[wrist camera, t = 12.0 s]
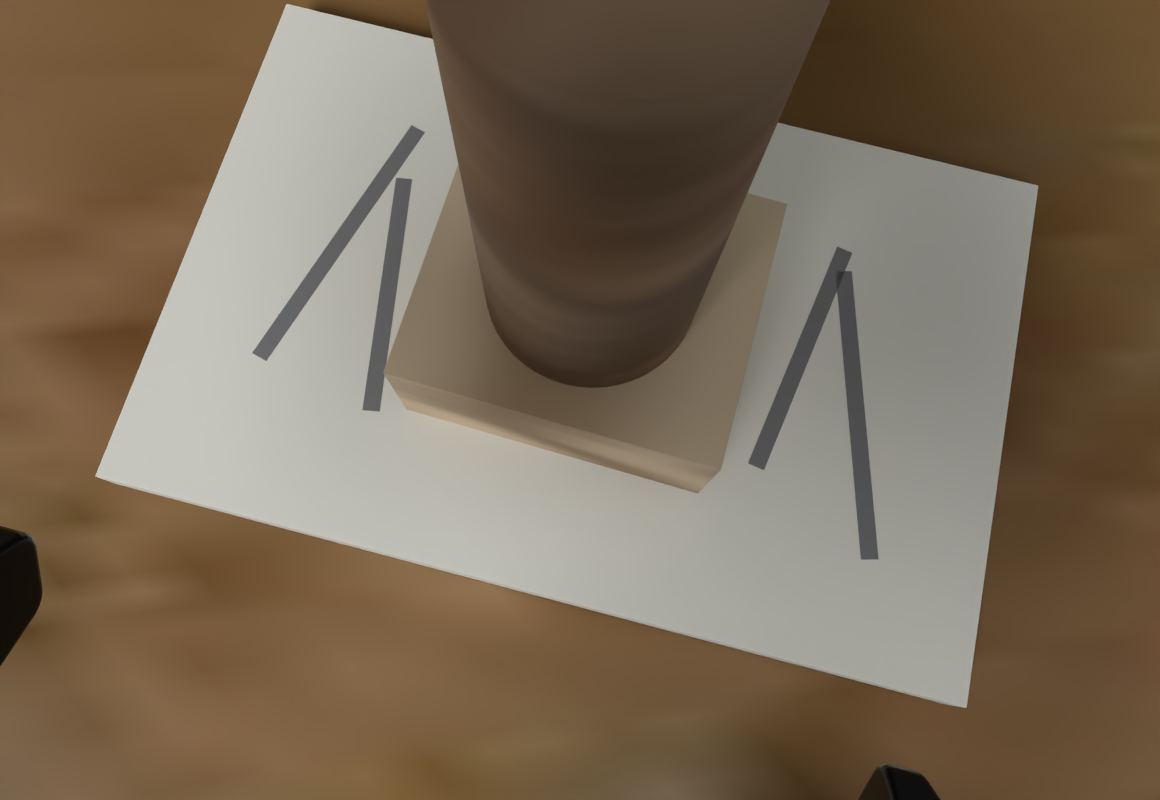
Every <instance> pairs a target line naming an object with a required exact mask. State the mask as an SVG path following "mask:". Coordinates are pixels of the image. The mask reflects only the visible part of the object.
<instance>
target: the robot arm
mask: <svg viewBox="0 0 1160 800" xmlns="http://www.w3.org/2000/svg"><path fill="white" fill-rule="evenodd" d="M41 598H42V583H41V576H40V570H39V563H38V556H37V549H36V544H35V541H34V540H33V538H32V537H31V536H30V535H29V534H27V533H24V532H21V531H17V530H13V529H10V528H6V527H2V526H0V666H1V665H2V663H3V662H4V660H5V659H6V657H7V656H8V654H9V653H10V651H11V650H12V648H13V647H14V645H15V644H16V642H17V641H18V639H19V638H20V636H21V635H22V633H23V632H24V630H25V629H26V627H27V626H28V624H29V623H30V621H31V620H32V618H33V617H34V615H35V614H36V612H37V610H38V608H39V605H40V602H41ZM858 800H940V798H939V797H938V795H937V794H936V792H935V791H934V789H933V788H932V786H931V785H930V783H929V782H928V781H927V779H926V778H925V777H924V776H923V775H922V774H920V773H918V772H916V771H913V770H909V769H905V768H902V767H898V766H894V765H890V764H882V765H880V766H878V767H877V768H876V770H875V771H874V772H873V774H872V776H871V778H870V779H869V781H868V783H867V785H866V786H865V788H864V790H863V792H862V793H861V795H860V797H859V799H858Z"/></svg>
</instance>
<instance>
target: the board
mask: <svg viewBox="0 0 1160 800" xmlns="http://www.w3.org/2000/svg"><path fill="white" fill-rule="evenodd" d="M457 166H458V160H457V155H456V150H455V145H454V140H453V136H452V131H451V126H450V121H449V116H448V111H447V106H446V101H445V96H444V91H443V86H442V81H441V77H440V72H439V67H438V62H437V57H436V52H435V47H434V42H433V39H430V38H426V37H422V36H418V35H413V34H409V33H405V32H401V31H397V30H393V29H389V28H384V27H380V26H376V25H372V24H368V23H364V22H360V21H355V20H351V19H347V18H343V17H339V16H335V15H331V14H327V13H322V12H318V11H314V10H310V9H306V8H302V7H298V6H293V5H289V4H286V7H285V9H284V12H283V14H282V17H281V19H280V22H279V24H278V27H277V29H276V32H275V34H274V36H273V39H272V41H271V44H270V46H269V49H268V51H267V54H266V56H265V59H264V61H263V64H262V66H261V69H260V71H259V73H258V76H257V78H256V81H255V83H254V86H253V88H252V91H251V93H250V96H249V98H248V101H247V103H246V106H245V108H244V110H243V113H242V115H241V118H240V120H239V123H238V125H237V128H236V130H235V133H234V135H233V138H232V140H231V143H230V145H229V147H228V150H227V152H226V155H225V157H224V160H223V162H222V165H221V167H220V170H219V172H218V175H217V177H216V180H215V182H214V185H213V187H212V189H211V192H210V194H209V197H208V199H207V202H206V204H205V207H204V209H203V212H202V214H201V217H200V219H199V222H198V224H197V226H196V229H195V231H194V234H193V236H192V239H191V241H190V244H189V246H188V249H187V251H186V254H185V256H184V259H183V261H182V263H181V266H180V268H179V271H178V273H177V276H176V278H175V281H174V283H173V286H172V288H171V291H170V293H169V296H168V298H167V300H166V303H165V305H164V308H163V310H162V313H161V315H160V318H159V320H158V323H157V325H156V328H155V330H154V333H153V335H152V338H151V340H150V342H149V345H148V347H147V350H146V352H145V355H144V357H143V360H142V362H141V365H140V367H139V370H138V372H137V375H136V377H135V379H134V382H133V384H132V387H131V389H130V392H129V394H128V397H127V399H126V402H125V404H124V407H123V409H122V412H121V414H120V416H119V419H118V421H117V424H116V426H115V429H114V431H113V434H112V436H111V439H110V441H109V444H108V446H107V449H106V451H105V453H104V456H103V458H102V461H101V463H100V466H99V468H98V471H97V473H96V476H95V477H98V478H101V479H104V480H107V481H109V482H112V483H115V484H118V485H122V486H126V487H130V488H133V489H137V490H141V491H145V492H149V493H152V494H156V495H160V496H164V497H167V498H171V499H175V500H179V501H182V502H186V503H190V504H194V505H197V506H201V507H205V508H209V509H212V510H216V511H220V512H224V513H228V514H231V515H235V516H239V517H243V518H246V519H250V520H254V521H258V522H261V523H265V524H269V525H273V526H276V527H280V528H284V529H288V530H291V531H295V532H299V533H303V534H307V535H310V536H314V537H318V538H322V539H325V540H329V541H333V542H337V543H340V544H344V545H348V546H352V547H355V548H359V549H363V550H367V551H370V552H374V553H378V554H382V555H386V556H389V557H393V558H397V559H401V560H404V561H408V562H412V563H416V564H419V565H423V566H427V567H431V568H434V569H438V570H442V571H446V572H449V573H453V574H457V575H461V576H465V577H468V578H472V579H476V580H480V581H483V582H487V583H491V584H495V585H498V586H502V587H506V588H510V589H513V590H517V591H521V592H525V593H528V594H532V595H536V596H540V597H544V598H547V599H551V600H555V601H559V602H562V603H566V604H570V605H574V606H577V607H581V608H585V609H589V610H592V611H596V612H600V613H604V614H607V615H611V616H615V617H619V618H622V619H626V620H630V621H634V622H638V623H641V624H645V625H649V626H653V627H656V628H660V629H664V630H668V631H671V632H675V633H679V634H683V635H686V636H690V637H694V638H698V639H701V640H705V641H709V642H713V643H717V644H720V645H724V646H728V647H732V648H735V649H739V650H743V651H747V652H750V653H754V654H758V655H762V656H765V657H769V658H773V659H777V660H780V661H784V662H788V663H792V664H796V665H799V666H803V667H807V668H811V669H814V670H818V671H822V672H826V673H829V674H833V675H837V676H841V677H844V678H848V679H852V680H856V681H859V682H863V683H867V684H871V685H875V686H878V687H882V688H886V689H890V690H893V691H897V692H901V693H905V694H908V695H912V696H916V697H920V698H923V699H927V700H931V701H935V702H938V703H942V704H946V705H951V706H957V707H964V708H967V701H968V693H969V686H970V679H971V672H972V664H973V657H974V650H975V642H976V635H977V628H978V621H979V613H980V606H981V599H982V592H983V584H984V577H985V570H986V563H987V555H988V548H989V541H990V533H991V526H992V519H993V512H994V504H995V497H996V490H997V483H998V475H999V468H1000V461H1001V454H1002V446H1003V439H1004V432H1005V424H1006V417H1007V410H1008V403H1009V395H1010V388H1011V381H1012V374H1013V366H1014V359H1015V352H1016V345H1017V337H1018V330H1019V323H1020V315H1021V308H1022V301H1023V294H1024V286H1025V279H1026V272H1027V265H1028V257H1029V250H1030V243H1031V236H1032V228H1033V221H1034V214H1035V206H1036V199H1037V192H1038V185H1034V184H1030V183H1026V182H1021V181H1017V180H1013V179H1009V178H1005V177H1001V176H997V175H992V174H988V173H984V172H980V171H976V170H972V169H968V168H963V167H959V166H955V165H951V164H947V163H943V162H939V161H935V160H930V159H926V158H922V157H918V156H914V155H910V154H906V153H901V152H897V151H893V150H889V149H885V148H881V147H877V146H872V145H868V144H864V143H860V142H856V141H852V140H848V139H844V138H839V137H835V136H831V135H827V134H823V133H819V132H815V131H810V130H806V129H802V128H798V127H794V126H790V125H786V124H781V123H777V126H776V128H775V130H774V133H773V135H772V137H771V140H770V142H769V144H768V147H767V149H766V151H765V154H764V156H763V158H762V160H761V163H760V165H759V167H758V170H757V172H756V174H755V177H754V179H753V181H752V184H751V186H750V188H749V191H748V193H749V194H753V195H756V196H760V197H764V198H767V199H771V200H775V201H778V202H782V203H786V204H787V207H786V211H785V215H784V219H783V223H782V227H781V231H780V235H779V239H778V243H777V247H776V251H775V255H774V259H773V263H772V267H771V271H770V275H769V279H768V283H767V287H766V291H765V295H764V299H763V303H762V307H761V311H760V315H759V319H758V324H757V328H756V332H755V336H754V340H753V344H752V348H751V352H750V356H749V360H748V364H747V368H746V372H745V376H744V380H743V384H742V388H741V392H740V396H739V400H738V404H737V408H736V412H735V416H734V420H733V424H732V428H731V432H730V436H729V440H728V444H727V448H726V452H725V456H724V460H723V464H722V468H721V470H720V471H719V472H718V473H717V474H716V475H715V476H714V477H713V478H712V479H711V480H710V481H709V482H708V483H707V485H706V486H705V487H704V488H703V489H702V490H701V491H700V492H699V493H694V492H691V491H687V490H684V489H680V488H677V487H674V486H670V485H667V484H663V483H660V482H656V481H653V480H649V479H646V478H642V477H639V476H635V475H632V474H628V473H625V472H621V471H618V470H614V469H611V468H608V467H604V466H601V465H597V464H594V463H590V462H587V461H583V460H580V459H576V458H573V457H569V456H566V455H562V454H559V453H555V452H552V451H548V450H545V449H541V448H538V447H535V446H531V445H528V444H524V443H521V442H517V441H514V440H510V439H507V438H503V437H500V436H496V435H493V434H489V433H486V432H482V431H479V430H475V429H472V428H469V427H465V426H462V425H458V424H455V423H451V422H448V421H444V420H441V419H437V418H434V417H430V416H427V415H423V414H420V413H416V412H413V411H409V410H407V409H406V408H405V406H404V405H403V403H402V401H401V400H400V398H399V397H398V395H397V394H396V392H395V391H394V389H393V387H392V386H391V384H390V383H389V381H388V380H387V378H386V377H385V375H384V373H383V372H384V369H385V366H386V363H387V361H388V358H389V355H390V352H391V349H392V347H393V344H394V341H395V338H396V336H397V333H398V330H399V327H400V324H401V322H402V319H403V316H404V313H405V311H406V308H407V305H408V302H409V300H410V297H411V294H412V291H413V288H414V286H415V283H416V280H417V277H418V275H419V272H420V269H421V266H422V263H423V261H424V258H425V255H426V252H427V250H428V247H429V244H430V241H431V239H432V236H433V233H434V230H435V227H436V225H437V222H438V219H439V216H440V214H441V211H442V208H443V205H444V203H445V200H446V197H447V194H448V191H449V189H450V186H451V183H452V180H453V178H454V175H455V172H456V169H457Z"/></svg>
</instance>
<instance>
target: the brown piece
mask: <svg viewBox="0 0 1160 800" xmlns="http://www.w3.org/2000/svg"><path fill="white" fill-rule="evenodd" d="M829 2H830V0H425V3H426V8H427V13H428V18H429V22H430V27H431V32H432V37H433V42H434V47H435V52H436V57H437V62H438V67H439V72H440V77H441V81H442V86H443V91H444V96H445V101H446V106H447V111H448V116H449V121H450V126H451V131H452V136H453V140H454V145H455V150H456V155H457V160H458V166H457V169H456V172H455V175H454V178H453V180H452V183H451V186H450V189H449V191H448V194H447V197H446V200H445V203H444V205H443V208H442V211H441V214H440V216H439V219H438V222H437V225H436V227H435V230H434V233H433V236H432V239H431V241H430V244H429V247H428V250H427V252H426V255H425V258H424V261H423V263H422V266H421V269H420V272H419V275H418V277H417V280H416V283H415V286H414V288H413V291H412V294H411V297H410V300H409V302H408V305H407V308H406V311H405V313H404V316H403V319H402V322H401V324H400V327H399V330H398V333H397V336H396V338H395V341H394V344H393V347H392V349H391V352H390V355H389V358H388V361H387V363H386V366H385V369H384V372H383V373H384V375H385V377H386V378H387V380H388V381H389V383H390V384H391V386H392V387H393V389H394V391H395V392H396V394H397V395H398V397H399V398H400V400H401V401H402V403H403V405H404V406H405V408H406V409H407V410H409V411H413V412H416V413H420V414H423V415H427V416H430V417H434V418H437V419H441V420H444V421H448V422H451V423H455V424H458V425H462V426H465V427H469V428H472V429H475V430H479V431H482V432H486V433H489V434H493V435H496V436H500V437H503V438H507V439H510V440H514V441H517V442H521V443H524V444H528V445H531V446H535V447H538V448H541V449H545V450H548V451H552V452H555V453H559V454H562V455H566V456H569V457H573V458H576V459H580V460H583V461H587V462H590V463H594V464H597V465H601V466H604V467H608V468H611V469H614V470H618V471H621V472H625V473H628V474H632V475H635V476H639V477H642V478H646V479H649V480H653V481H656V482H660V483H663V484H667V485H670V486H674V487H677V488H680V489H684V490H687V491H691V492H694V493H699V492H700V491H701V490H702V489H703V488H704V487H705V486H706V485H707V483H708V482H709V481H710V480H711V479H712V478H713V477H714V476H715V475H716V474H717V473H718V472H719V471H720V470H721V468H722V464H723V460H724V456H725V452H726V448H727V444H728V440H729V436H730V432H731V428H732V424H733V420H734V416H735V412H736V408H737V404H738V400H739V396H740V392H741V388H742V384H743V380H744V376H745V372H746V368H747V364H748V360H749V356H750V352H751V348H752V344H753V340H754V336H755V332H756V328H757V324H758V319H759V315H760V311H761V307H762V303H763V299H764V295H765V291H766V287H767V283H768V279H769V275H770V271H771V267H772V263H773V259H774V255H775V251H776V247H777V243H778V239H779V235H780V231H781V227H782V223H783V219H784V215H785V211H786V207H787V204H786V203H782V202H778V201H775V200H771V199H767V198H764V197H760V196H756V195H753V194H749V193H748V191H749V188H750V186H751V184H752V181H753V179H754V177H755V174H756V172H757V170H758V167H759V165H760V163H761V160H762V158H763V156H764V154H765V151H766V149H767V147H768V144H769V142H770V140H771V137H772V135H773V133H774V130H775V128H776V126H777V123H778V121H779V119H780V116H781V114H782V112H783V109H784V107H785V105H786V102H787V100H788V98H789V95H790V93H791V91H792V88H793V86H794V84H795V81H796V79H797V77H798V74H799V72H800V70H801V67H802V65H803V63H804V60H805V58H806V56H807V53H808V51H809V49H810V47H811V44H812V42H813V40H814V37H815V35H816V33H817V30H818V28H819V26H820V23H821V21H822V19H823V16H824V14H825V12H826V9H827V7H828V5H829Z"/></svg>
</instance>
